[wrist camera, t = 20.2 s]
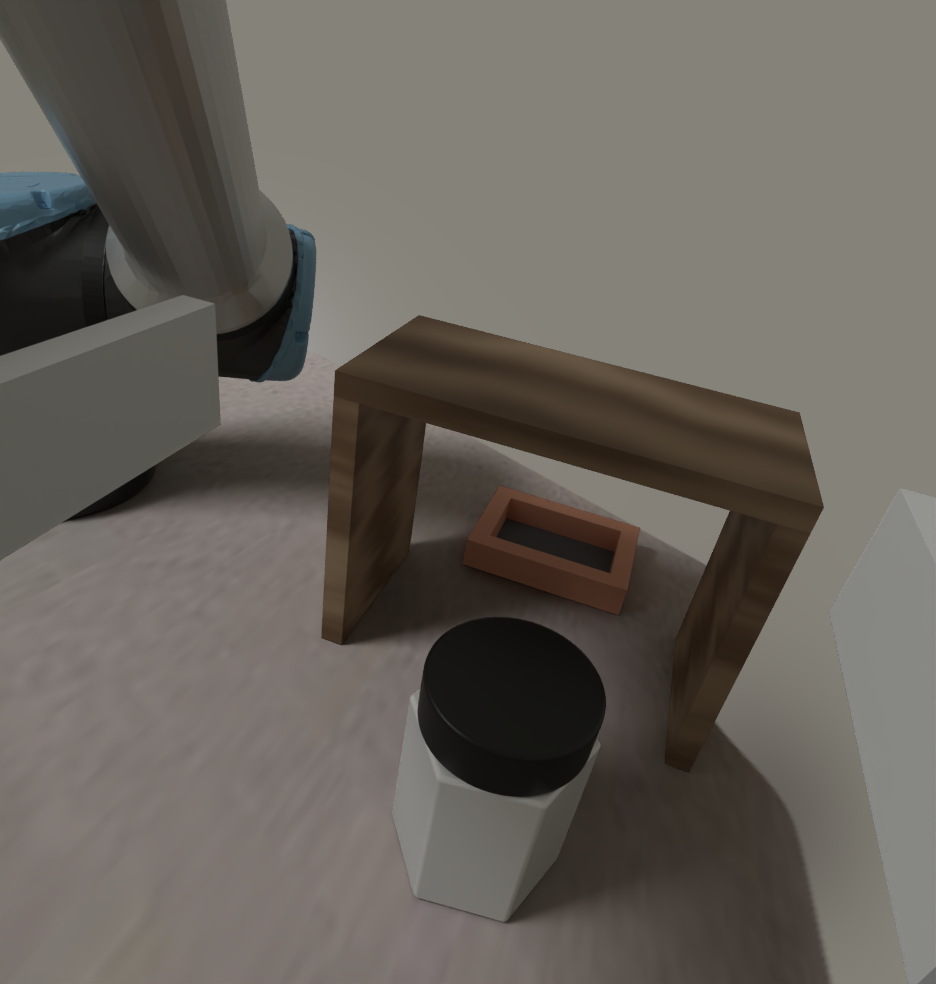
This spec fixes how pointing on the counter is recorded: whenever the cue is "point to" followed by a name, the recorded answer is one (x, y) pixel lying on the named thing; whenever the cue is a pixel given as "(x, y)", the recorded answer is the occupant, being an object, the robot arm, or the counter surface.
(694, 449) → the archway
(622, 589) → the tray
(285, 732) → the counter surface
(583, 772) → the jar
